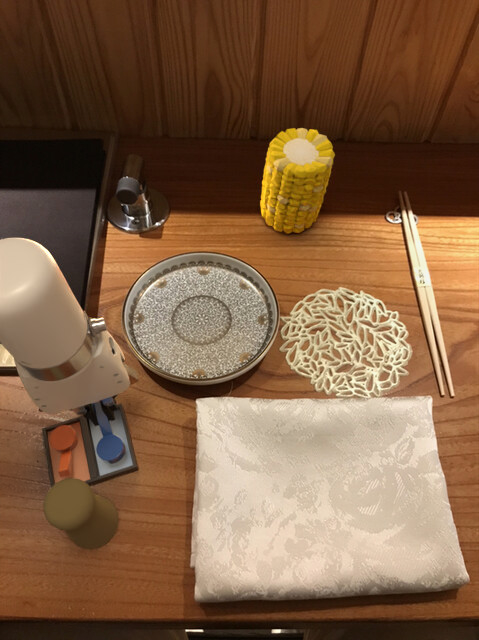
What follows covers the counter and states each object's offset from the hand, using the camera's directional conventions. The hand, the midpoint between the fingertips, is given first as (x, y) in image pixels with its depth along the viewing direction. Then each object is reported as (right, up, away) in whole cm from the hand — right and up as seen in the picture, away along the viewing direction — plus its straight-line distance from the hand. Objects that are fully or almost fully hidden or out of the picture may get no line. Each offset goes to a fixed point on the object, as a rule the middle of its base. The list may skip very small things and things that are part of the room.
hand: (103, 412), depth 70 cm
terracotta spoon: (-4, -5, 0) cm, 7 cm away
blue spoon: (+1, -3, -1) cm, 3 cm away
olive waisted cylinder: (0, -12, -4) cm, 13 cm away
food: (+25, +28, +20) cm, 43 cm away
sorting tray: (-2, -5, +1) cm, 5 cm away
